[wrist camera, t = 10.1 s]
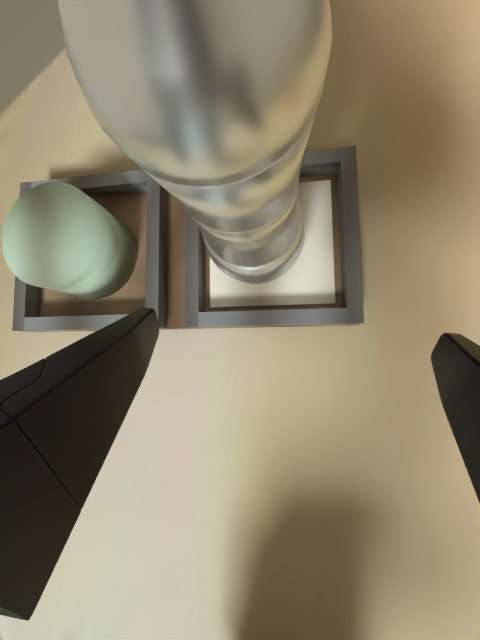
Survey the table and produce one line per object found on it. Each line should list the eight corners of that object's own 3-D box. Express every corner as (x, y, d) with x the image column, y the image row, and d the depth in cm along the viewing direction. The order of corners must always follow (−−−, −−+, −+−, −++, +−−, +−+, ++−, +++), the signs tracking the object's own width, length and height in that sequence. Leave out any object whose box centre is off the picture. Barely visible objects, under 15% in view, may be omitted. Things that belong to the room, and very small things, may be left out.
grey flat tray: (348, 167, 22) (369, 104, 16) (354, 325, 21) (381, 317, 16) (45, 197, 26) (-25, 155, 21) (38, 331, 25) (-37, 328, 20)
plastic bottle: (252, 309, 21) (-129, -116, 2) (196, 241, 23) (-422, -482, 3) (322, 251, 21) (863, -1169, 1) (261, 185, 22) (66, -1116, 2)
